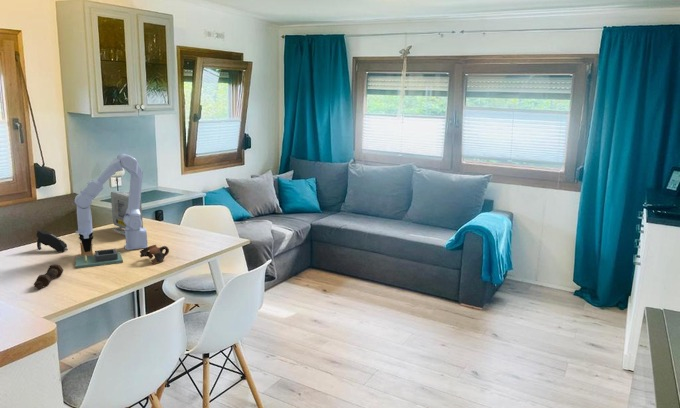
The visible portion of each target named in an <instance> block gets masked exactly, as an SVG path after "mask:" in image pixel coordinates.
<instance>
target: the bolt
mask: <svg viewBox="0 0 680 408" xmlns="http://www.w3.org/2000/svg"><path fill="white" fill-rule="evenodd" d="M63 273H64V269H63V267H62V266H61V265H60V264H57V263H53V264H50V265H49V266H48V268H47V271H46V272H45V273H44V274H39V275H38V276H37V278H36V280H35V282H34V283H33V287H34V288H35V289H38V290H39V289H40V290H41V289H42V288H43V286H44V287H48V286H49V285H50V283H51V281H52V280H53V279H54V278H60V277H62V275H63Z"/></svg>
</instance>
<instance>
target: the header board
mask: <svg viewBox="0 0 680 408" xmlns="http://www.w3.org/2000/svg"><path fill="white" fill-rule="evenodd" d="M120 263H121V264H122V263H124V260H123V257H122V253H121V252H120V251H117V249H116V248H110V249H109V248H107V249H101V250H94V254H93V255H90V256H86V255H85V256H83V255H82V256H76V257H75V269H81V268H89V267H90V268H91V267H100V266H105V265H106V266H107V265H114V264H120Z"/></svg>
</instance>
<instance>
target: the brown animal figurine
mask: <svg viewBox="0 0 680 408" xmlns="http://www.w3.org/2000/svg"><path fill="white" fill-rule="evenodd" d="M164 250H165V252H164V253H163V251H164ZM169 253H170V249H169V247H168V246H165V245H164V246H160V247H159V246H157V244H153V245H150V246H148V247H147V248H142V249H141V250H140V251H139V254H140V255H139V257H140V258H143V257H148V258H149V259H151V260H150V261H151V263H152V265H157V264H159V263H163V262H164V259H165V257H166V256H167V255H168V254H169Z"/></svg>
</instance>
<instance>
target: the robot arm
mask: <svg viewBox="0 0 680 408" xmlns="http://www.w3.org/2000/svg"><path fill="white" fill-rule="evenodd" d="M124 170H125V171H127V173H129V175H130V180H129V181H130V182H129V193H128V194H129V201H128V209H127V210H126V215H125V216H124V218H123V222H124V224H125V225H126V227H125V229H124V230H125V235H124V236H125V237H124V238H125V244H124V248H125V250H127V251H129V250H139V249H145V248H147V247H149V246H148V233H147V228H146V227H143V228H141V226H142V221H143V219H142V220H141V214H140V210H139V209H140V198H141V197H142V188H143V187H142V186H143V176H144V175H143V174H144V173H143V172H144V171H143V170H142V167H141V166H140V164H139V161H138V160H137V159H136V158H135V157H134V156H132V155H129V154H127V153H120V154H119V155H117V157H116V158H114V159H113V160H112V161H111V162H110V163H109V165H108V166H106V168H105V170H104V171H103V172H102V173H101V174H100V175H99V176H98V178H97V179H95V180H91V181H88V182H87V186H85V188H84V189H83V190H80V192H79V194H76V196H75V198H74V204H75V205H76V220H77V230H75V234H78V236H79V237H78V239H79V241H80V243H82V244H83V247H84V251H85V252H90V250H91V242H92V243H93V240H94V235H93V234H94V233H93V232H94V229H93V218H92V210H91V206H92V203H93V200H94V199H95V198H96V197H97V196H98V195H99V194H100V193H101V192H102V191H103V189H104V185H105V184H106V183H107V182H108V181H109V180H110V178H112V176H113V175H114V174H116V173H117V172H122V171H124Z"/></svg>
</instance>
